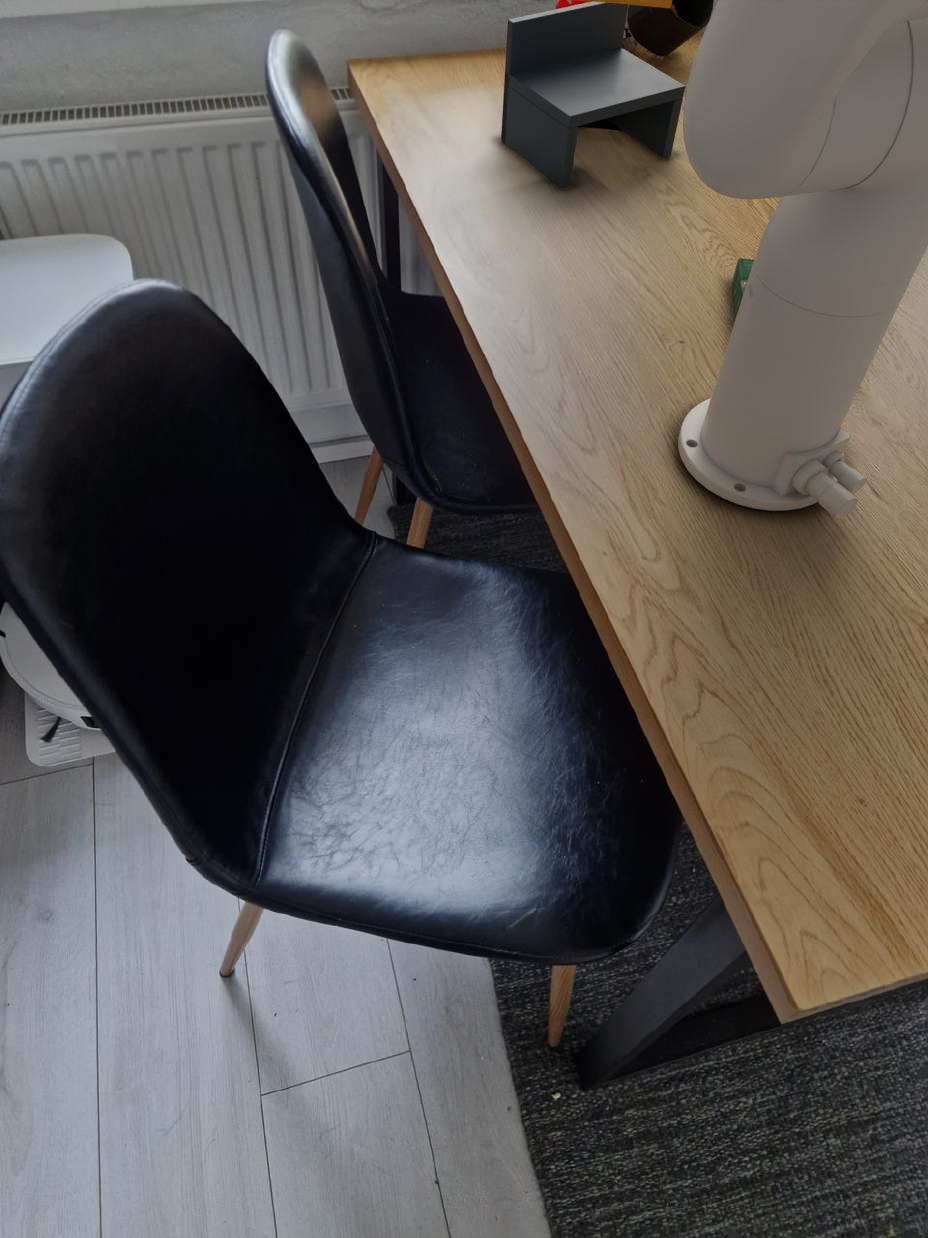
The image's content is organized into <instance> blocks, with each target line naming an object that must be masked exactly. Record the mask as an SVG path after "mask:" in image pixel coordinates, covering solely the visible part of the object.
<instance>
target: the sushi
mask: <svg viewBox="0 0 928 1238" xmlns="http://www.w3.org/2000/svg"><path fill="white" fill-rule="evenodd" d="M714 3H715V0H672V4H671V7H670V8H661V7H650V6H639V5H629V4H628V5H629V6H628V11H627V16H626V23H625V28H626V29H629V30H628V33H630V32H631V33H630V34H631V36H632V37H631V42H632V41H634V42H636V43H637V46H636V47H637V49H640V48H641V47H642V48H643V49H646V52H647V56H648V57H653V56H655V59H656V60H658V59H660V61H662V60H664V59H665V57H668V56H670V55H671V54H672V53H673V52H675V51H676V50H677V49H678V48H680V47H681V46H682V45H683V44H685V43H686V42H688V41H689V40H690V39H691V38H692V37H694V36H695V35H696V34H698V33H699V32H700V31H701V30H703V29H704V28H706V27H707V25H708V23H709V20H710V18H711V16H712V14H713V11H714Z"/></svg>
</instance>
